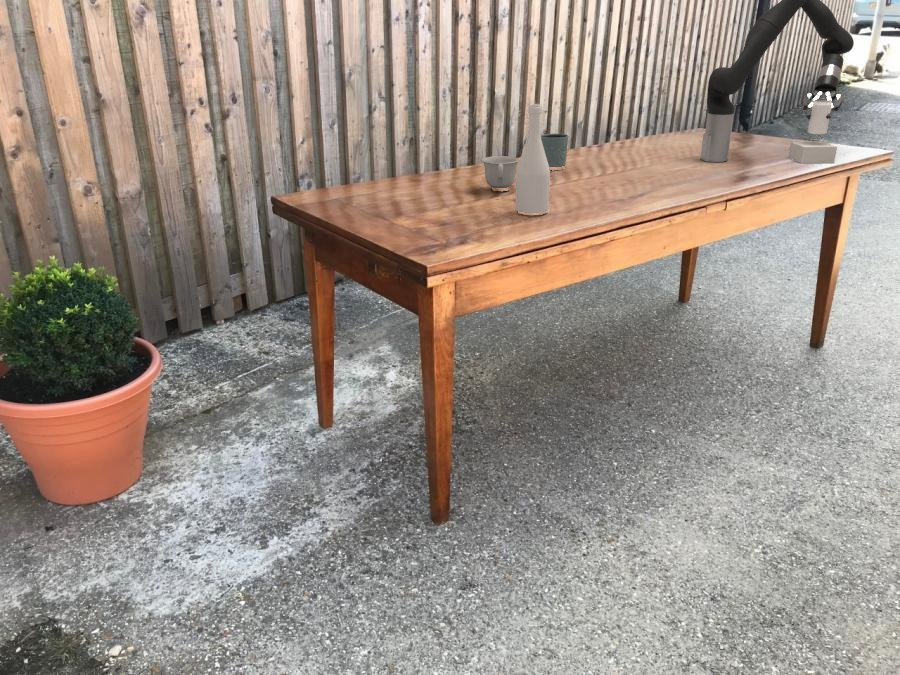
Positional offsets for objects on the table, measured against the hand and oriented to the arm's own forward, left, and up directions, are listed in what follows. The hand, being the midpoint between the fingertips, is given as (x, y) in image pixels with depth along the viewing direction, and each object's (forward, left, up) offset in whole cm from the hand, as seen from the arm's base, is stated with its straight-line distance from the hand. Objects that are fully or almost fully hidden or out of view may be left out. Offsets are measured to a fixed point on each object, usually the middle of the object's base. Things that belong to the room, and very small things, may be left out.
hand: (817, 118), depth 264 cm
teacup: (-118, -44, -16) cm, 127 cm away
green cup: (-97, -8, -16) cm, 99 cm away
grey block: (+1, +1, -16) cm, 16 cm away
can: (+1, +1, -6) cm, 6 cm away
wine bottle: (-110, -72, -16) cm, 132 cm away
